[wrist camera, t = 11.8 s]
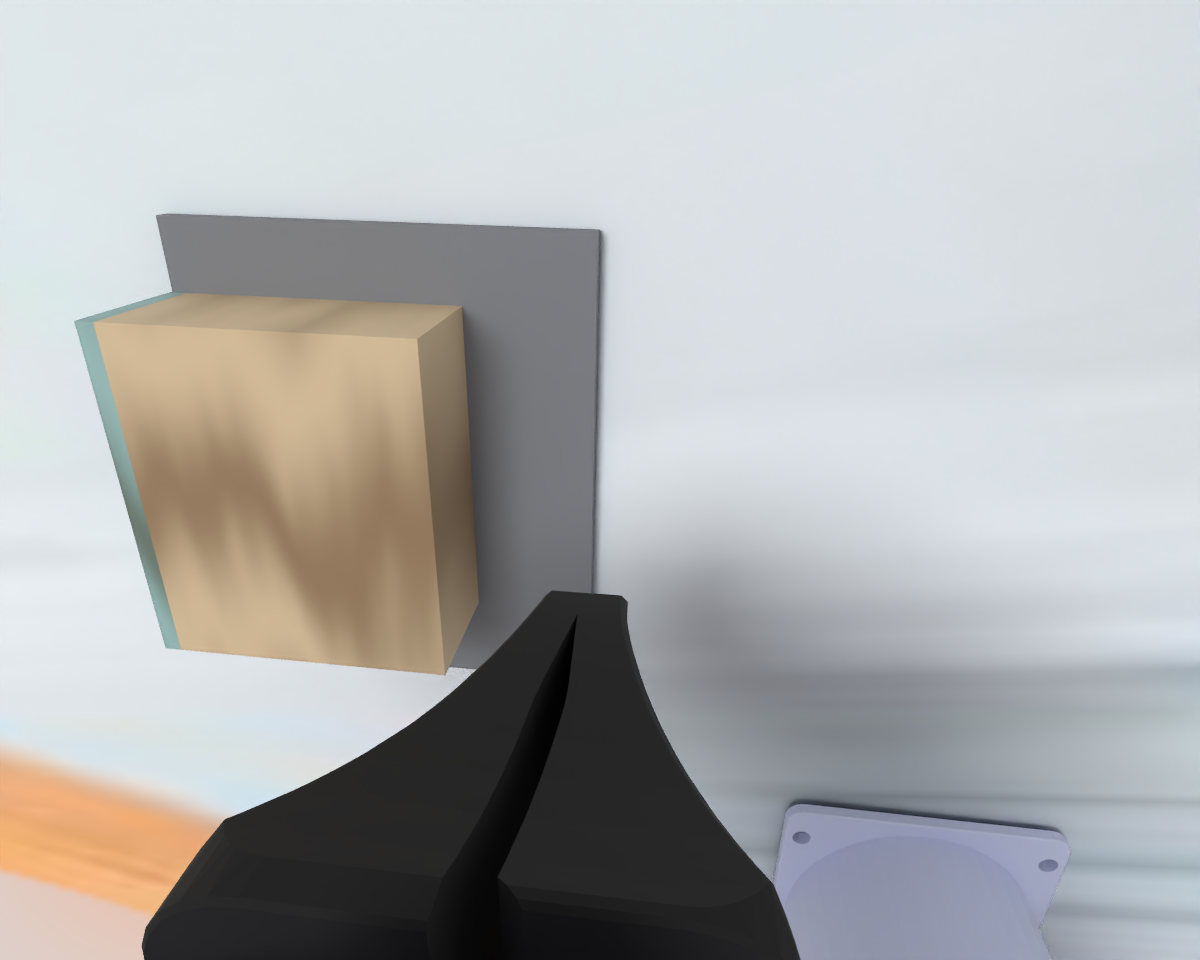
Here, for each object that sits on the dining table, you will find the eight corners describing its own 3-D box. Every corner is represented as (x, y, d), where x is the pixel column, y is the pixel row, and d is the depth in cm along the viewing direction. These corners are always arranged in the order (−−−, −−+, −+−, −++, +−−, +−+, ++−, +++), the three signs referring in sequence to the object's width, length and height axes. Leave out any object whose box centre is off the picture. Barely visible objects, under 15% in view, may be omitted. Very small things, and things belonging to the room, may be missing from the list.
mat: (590, 670, 21) (588, 680, 21) (257, 639, 22) (250, 647, 22) (599, 229, 16) (598, 231, 16) (166, 213, 17) (155, 215, 17)
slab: (445, 675, 17) (165, 648, 18) (478, 602, 20) (234, 581, 21) (417, 339, 14) (74, 320, 15) (462, 305, 17) (171, 292, 17)
